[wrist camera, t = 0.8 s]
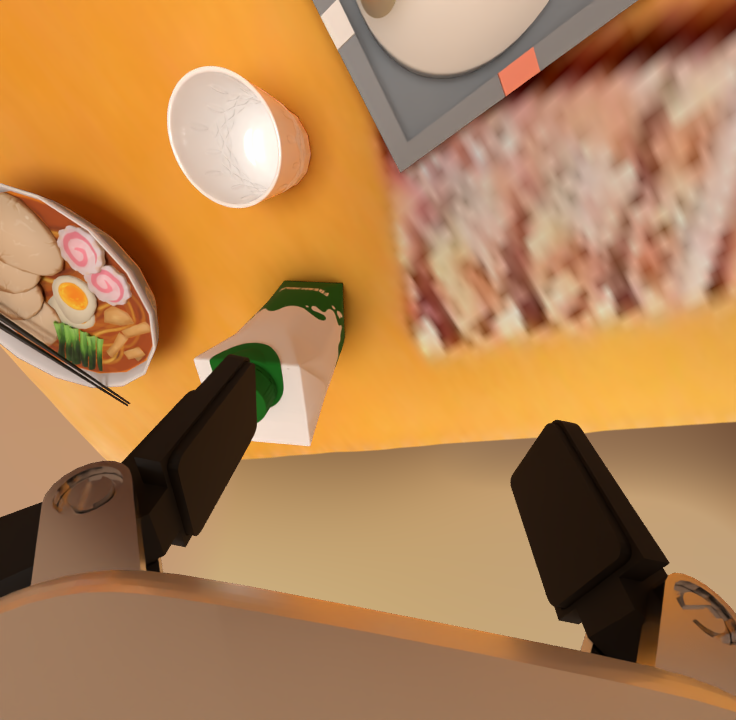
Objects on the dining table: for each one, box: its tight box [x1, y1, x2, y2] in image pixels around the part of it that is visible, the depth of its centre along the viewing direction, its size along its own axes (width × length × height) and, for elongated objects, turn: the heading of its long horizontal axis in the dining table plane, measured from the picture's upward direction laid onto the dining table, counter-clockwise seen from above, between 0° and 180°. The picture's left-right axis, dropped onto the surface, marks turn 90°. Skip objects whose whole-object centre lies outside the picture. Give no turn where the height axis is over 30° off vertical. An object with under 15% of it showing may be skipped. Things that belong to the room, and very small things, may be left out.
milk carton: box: [194, 281, 345, 446], centre depth 30 cm, size 9×9×20 cm
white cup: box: [167, 66, 311, 208], centre depth 25 cm, size 8×8×10 cm
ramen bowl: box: [0, 183, 159, 406], centre depth 36 cm, size 25×23×8 cm
